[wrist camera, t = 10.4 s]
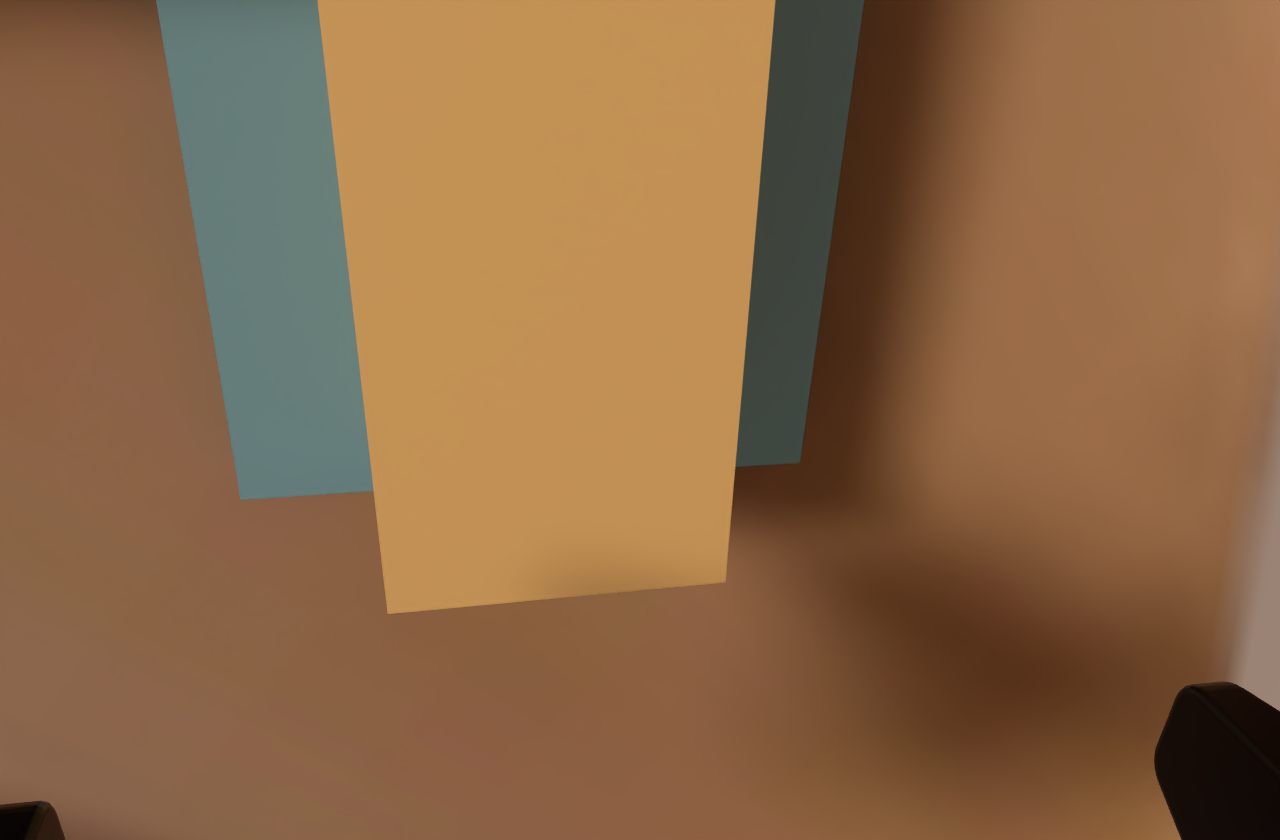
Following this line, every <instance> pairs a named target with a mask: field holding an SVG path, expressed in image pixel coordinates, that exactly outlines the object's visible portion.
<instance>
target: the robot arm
mask: <svg viewBox="0 0 1280 840" xmlns="http://www.w3.org/2000/svg"><path fill="white" fill-rule="evenodd" d="M1154 764H1155V771H1156V776H1157V779H1158V782H1159V785H1160V787H1161V790H1162V792H1163V795H1164V797H1165V800H1166V802H1167V805H1168V807H1169V810H1170V812H1171V815H1172V817H1173V820H1174V822H1175V825H1176V827H1177V830H1178V832H1179V835H1180V837H1181V840H1280V711H1278V710H1277V709H1275V708H1274V707H1272V706H1270V705H1269V704H1267V703H1266V702H1264V701H1262V700H1261V699H1259V698H1258V697H1256V696H1255V695H1253V694H1252V693H1250V692H1248V691H1247V690H1245V689H1244V688H1242V687H1240V686H1238V685H1236V684H1233V683H1230V682H1213V683H1203V684H1193V685H1188V686H1185V687H1184V688H1183V689H1182V690H1180V692H1179V693H1178V694H1177V696H1176V698H1175V700H1174V703H1173V706H1172V708H1171V711H1170V713H1169V716H1168V718H1167V721H1166V723H1165V726H1164V728H1163V731H1162V733H1161V736H1160V738H1159V741H1158V743H1157V746H1156V749H1155V757H1154ZM0 840H65V837H64V834H63V831H62V828H61V825H60V822H59V819H58V816H57V813H56V811H55V809H54V808H53V806H52V805H51V804H50V803H48V802H45V801H33V802H24V803H14V804H4V805H0Z"/></svg>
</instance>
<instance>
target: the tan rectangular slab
mask: <svg viewBox="0 0 1280 840" xmlns="http://www.w3.org/2000/svg"><path fill="white" fill-rule="evenodd" d="M317 1H318V10H319V18H320V27H321V36H322V45H323V53H324V62H325V71H326V79H327V88H328V97H329V106H330V114H331V123H332V132H333V140H334V149H335V158H336V167H337V175H338V184H339V193H340V202H341V210H342V219H343V228H344V236H345V245H346V254H347V263H348V271H349V280H350V289H351V298H352V306H353V315H354V324H355V332H356V341H357V350H358V359H359V367H360V376H361V385H362V393H363V402H364V411H365V420H366V428H367V437H368V446H369V455H370V463H371V472H372V481H373V489H374V498H375V507H376V516H377V524H378V533H379V542H380V550H381V559H382V568H383V577H384V585H385V594H386V603H387V612H388V614H392V613H403V612H414V611H424V610H435V609H446V608H456V607H467V606H478V605H488V604H499V603H510V602H520V601H531V600H542V599H552V598H563V597H574V596H584V595H595V594H606V593H616V592H627V591H638V590H648V589H659V588H670V587H680V586H691V585H702V584H712V583H723V582H725V580H726V569H727V557H728V546H729V534H730V522H731V511H732V499H733V487H734V476H735V464H736V453H737V441H738V429H739V418H740V406H741V394H742V383H743V371H744V360H745V348H746V336H747V325H748V313H749V301H750V290H751V278H752V267H753V255H754V243H755V232H756V220H757V208H758V197H759V185H760V174H761V162H762V150H763V139H764V127H765V115H766V104H767V92H768V81H769V69H770V57H771V46H772V34H773V22H774V11H775V0H317Z"/></svg>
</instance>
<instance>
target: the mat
mask: <svg viewBox="0 0 1280 840" xmlns="http://www.w3.org/2000/svg"><path fill="white" fill-rule="evenodd" d="M156 3H157V9H158V15H159V21H160V27H161V33H162V38H163V44H164V50H165V56H166V62H167V68H168V74H169V80H170V86H171V92H172V97H173V103H174V109H175V115H176V121H177V127H178V133H179V139H180V145H181V150H182V156H183V162H184V168H185V174H186V180H187V186H188V192H189V198H190V203H191V209H192V215H193V221H194V227H195V233H196V239H197V245H198V251H199V257H200V262H201V268H202V274H203V280H204V286H205V292H206V298H207V304H208V310H209V315H210V321H211V327H212V333H213V339H214V345H215V351H216V357H217V363H218V368H219V374H220V380H221V386H222V392H223V398H224V404H225V410H226V416H227V422H228V427H229V433H230V439H231V445H232V451H233V457H234V463H235V469H236V475H237V480H238V486H239V492H240V498H241V500H246V499H261V498H276V497H291V496H306V495H322V494H337V493H352V492H367V491H374V489H373V481H372V472H371V463H370V455H369V446H368V437H367V428H366V420H365V411H364V402H363V393H362V385H361V376H360V367H359V359H358V350H357V341H356V332H355V324H354V315H353V306H352V298H351V289H350V280H349V271H348V263H347V254H346V245H345V236H344V228H343V219H342V210H341V202H340V193H339V184H338V175H337V167H336V158H335V149H334V140H333V132H332V123H331V114H330V106H329V97H328V88H327V79H326V71H325V62H324V53H323V45H322V36H321V27H320V18H319V10H318V1H317V0H156ZM863 6H864V0H775V11H774V22H773V34H772V46H771V57H770V69H769V81H768V92H767V104H766V115H765V127H764V139H763V150H762V162H761V174H760V185H759V197H758V208H757V220H756V232H755V243H754V255H753V267H752V278H751V290H750V301H749V313H748V325H747V336H746V348H745V360H744V371H743V383H742V394H741V406H740V418H739V429H738V441H737V453H736V464H735V467H745V466H760V465H775V464H790V463H800V459H801V451H802V444H803V437H804V430H805V423H806V415H807V408H808V401H809V394H810V387H811V379H812V372H813V365H814V358H815V351H816V344H817V336H818V329H819V322H820V315H821V308H822V300H823V293H824V286H825V279H826V272H827V265H828V257H829V250H830V243H831V236H832V229H833V221H834V214H835V207H836V200H837V193H838V186H839V178H840V171H841V164H842V157H843V150H844V142H845V135H846V128H847V121H848V114H849V107H850V99H851V92H852V85H853V78H854V71H855V63H856V56H857V49H858V42H859V35H860V27H861V20H862V13H863Z"/></svg>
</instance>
